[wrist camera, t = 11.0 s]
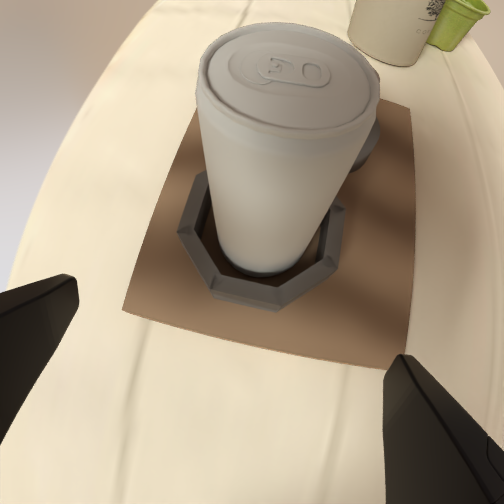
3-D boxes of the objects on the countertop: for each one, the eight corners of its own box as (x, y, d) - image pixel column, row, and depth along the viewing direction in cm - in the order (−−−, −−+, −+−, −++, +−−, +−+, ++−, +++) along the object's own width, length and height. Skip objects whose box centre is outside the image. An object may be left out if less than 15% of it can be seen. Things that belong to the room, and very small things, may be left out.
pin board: (392, 370, 17) (468, 370, 10) (128, 313, 18) (67, 283, 11) (404, 117, 24) (440, 54, 16) (219, 73, 24) (215, -1, 17)
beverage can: (226, 195, 19) (215, 14, 8) (307, 206, 19) (373, 37, 8) (212, 274, 18) (167, 125, 6) (300, 286, 18) (397, 159, 6)
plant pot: (474, 58, 29) (501, 14, 21) (440, 64, 27) (470, 10, 19) (426, 17, 31) (445, -27, 23) (385, 18, 30) (404, -35, 21)
